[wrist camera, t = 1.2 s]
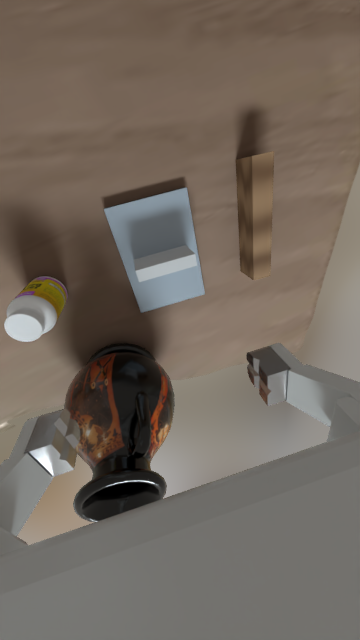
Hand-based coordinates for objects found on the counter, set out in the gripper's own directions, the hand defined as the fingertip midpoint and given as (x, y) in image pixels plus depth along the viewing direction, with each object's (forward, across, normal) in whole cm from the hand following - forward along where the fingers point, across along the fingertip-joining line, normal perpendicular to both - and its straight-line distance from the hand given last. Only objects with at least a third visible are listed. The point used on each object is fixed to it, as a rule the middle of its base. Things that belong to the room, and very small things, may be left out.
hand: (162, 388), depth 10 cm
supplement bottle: (+37, +18, +5) cm, 41 cm away
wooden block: (+37, -22, +2) cm, 43 cm away
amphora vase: (+37, +12, +28) cm, 48 cm away
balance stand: (+36, -4, +4) cm, 37 cm away
